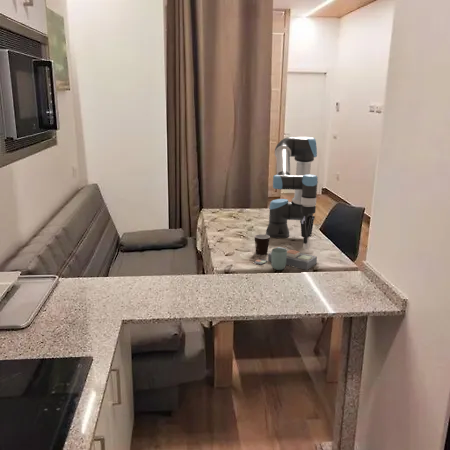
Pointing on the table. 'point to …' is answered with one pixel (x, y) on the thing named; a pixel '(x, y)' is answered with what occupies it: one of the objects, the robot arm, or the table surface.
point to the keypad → (299, 261)
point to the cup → (278, 258)
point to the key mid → (293, 253)
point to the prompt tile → (260, 261)
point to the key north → (305, 257)
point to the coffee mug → (261, 244)
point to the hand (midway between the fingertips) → (305, 248)
